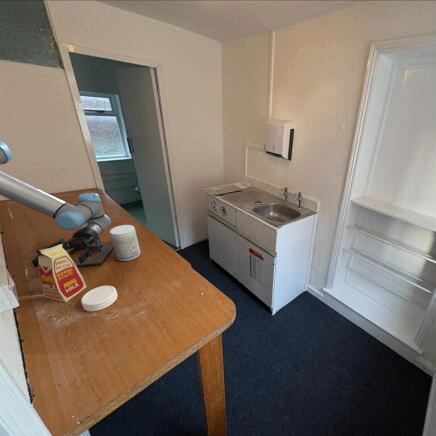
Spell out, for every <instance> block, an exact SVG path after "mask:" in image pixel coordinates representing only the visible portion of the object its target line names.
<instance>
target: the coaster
mask: <svg viewBox="0 0 436 436" xmlns="http://www.w3.org/2000/svg"><path fill="white" fill-rule="evenodd" d="M117 300H118V292H117V289H116V287H114V286H112V285H101V286H97V287H94V288H92V289H91V290H88V291H87V292H86V293H85V294H84V295H82V297H81V299H80V303H81V306H82V308H83V310H84V311H86V312H98V311H102V310H105V309H107V308H109V307H110V306H112V305H113V304H114V303H116V301H117Z"/></svg>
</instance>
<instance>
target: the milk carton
mask: <svg viewBox="0 0 436 436" xmlns="http://www.w3.org/2000/svg"><path fill="white" fill-rule="evenodd" d="M38 250H39V249H38ZM39 251H40V252H41V254H40V255H39V256H38V255H37V256H38V257H39V266H38V273H39V281H40V285H41V289H42V292H43V295H44V298H46V299H47V298H48V299H50V300H54V301H59V302H63V303H67V302H68V301H70V300H71V299H73V298H74V297H75V296H77V295H79V294H80V293H81V292H83V291H84V290H85V289H86V288H87V285H86V281H85V279H84V277H83V276H82V274H81V272H80V270H79V268H77V266H76V265H75V263H74V262H73V261H74V260H73V259H72V257H71V255H70V256H69V254H68V253H67V252H66V251H65V250H64V249H63V248H62V244H60V245H57V246H54V247H52V248H48V249H44V250H39Z"/></svg>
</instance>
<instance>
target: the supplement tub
mask: <svg viewBox="0 0 436 436" xmlns="http://www.w3.org/2000/svg"><path fill="white" fill-rule="evenodd" d="M136 231H137V230H136V229H135V226H134V225H131V224H122V225H118V226H117V225H116V226H114V227H113V228H111V229H110V230H109V235H110V239H111V240H110V241H112V243H113V246H114V252H115V255H116V258H117V260H118V261H121V262H129V261H130V262H131V261H133V260H135V259H138V258H139V256H140V255H141V248H140V244H139V240H138V235H137V232H136Z"/></svg>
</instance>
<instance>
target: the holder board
mask: <svg viewBox="0 0 436 436" xmlns="http://www.w3.org/2000/svg"><path fill="white" fill-rule="evenodd" d="M67 245H68V247H70V246H69V244H68V243H67ZM91 245H92V246H93V247H96V245H95V243H94V242H93V243H92V244H91ZM100 248H101V252H98V251H97V252H96V253H95V254H94V255H93V257H92V258H87V259H86V260H85V261H84V262H83V263H81V264H80V262H79V259H78V260H77V259H76V260H73V262H74V263H75V265H76V266H77V268H78V269H79V268H80V269H81V268H82V269H83V268H93V267H101V266H103V265H104V264H105V262H106V261H107V259H108V258H109V257H110V255H111V254H112V253H113V251H115V249H114V246H113V243H112V240H108V241H101V242H100ZM82 250H84V251H85V250H86V248H85V247H76V248H72V249H69V250H67V249H66V250H65V251H66V252H67V253H68V254H69V256H70V257H71V255H72V254H73V253H74V252H75V251H82Z"/></svg>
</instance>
